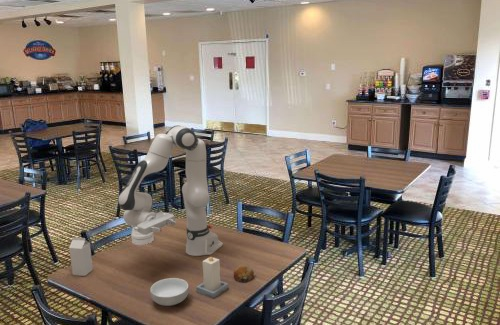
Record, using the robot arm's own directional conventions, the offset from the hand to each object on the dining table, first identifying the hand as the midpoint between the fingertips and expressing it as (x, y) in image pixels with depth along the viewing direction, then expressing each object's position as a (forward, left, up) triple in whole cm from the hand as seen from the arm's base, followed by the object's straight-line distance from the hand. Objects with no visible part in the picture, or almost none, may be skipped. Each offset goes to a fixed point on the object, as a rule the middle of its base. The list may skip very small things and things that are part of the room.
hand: (167, 226), depth 206 cm
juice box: (-1, +26, -25) cm, 36 cm away
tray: (-1, +26, -26) cm, 37 cm away
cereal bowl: (+16, +16, -27) cm, 35 cm away
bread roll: (-19, +31, -27) cm, 45 cm away
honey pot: (-21, -47, -27) cm, 58 cm away
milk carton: (+23, -41, -27) cm, 54 cm away
